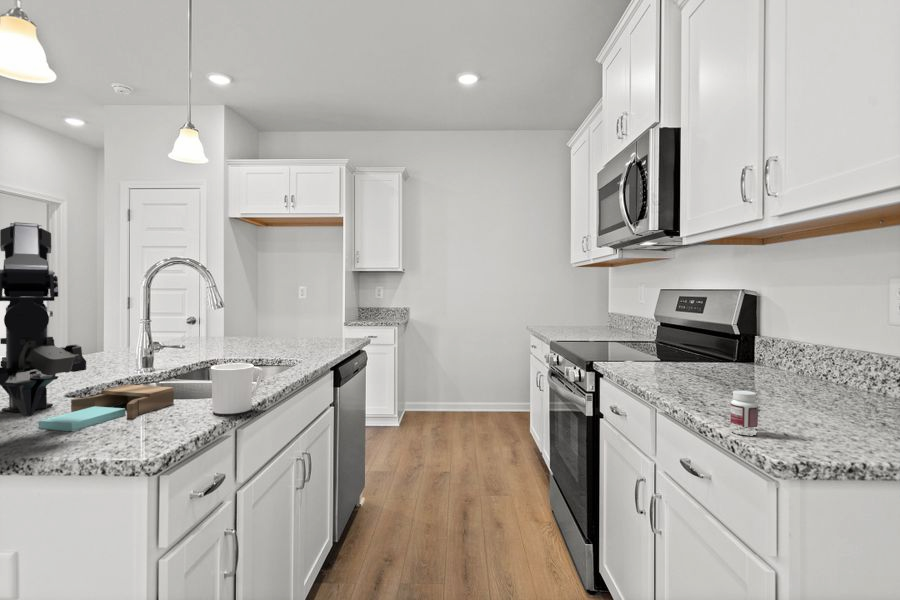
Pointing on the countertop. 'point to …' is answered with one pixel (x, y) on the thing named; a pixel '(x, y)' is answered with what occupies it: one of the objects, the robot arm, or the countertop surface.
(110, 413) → the panel
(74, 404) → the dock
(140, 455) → the countertop surface
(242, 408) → the mug
